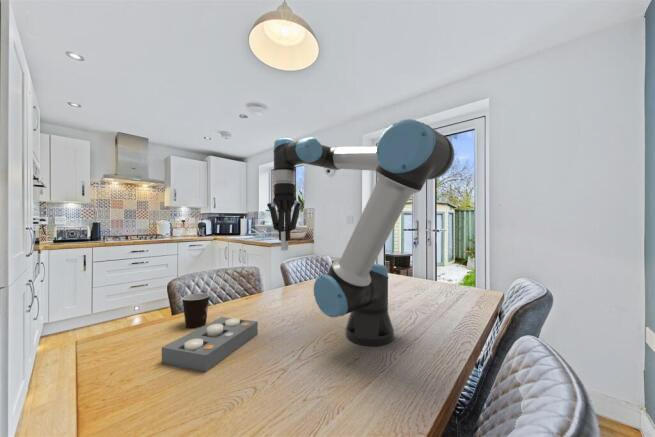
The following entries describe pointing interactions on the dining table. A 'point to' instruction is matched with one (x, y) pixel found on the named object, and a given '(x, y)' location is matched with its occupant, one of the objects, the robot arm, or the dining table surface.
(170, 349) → the button board
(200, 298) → the coffee mug
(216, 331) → the button
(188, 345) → the button
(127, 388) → the dining table surface
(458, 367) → the dining table surface
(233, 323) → the button
